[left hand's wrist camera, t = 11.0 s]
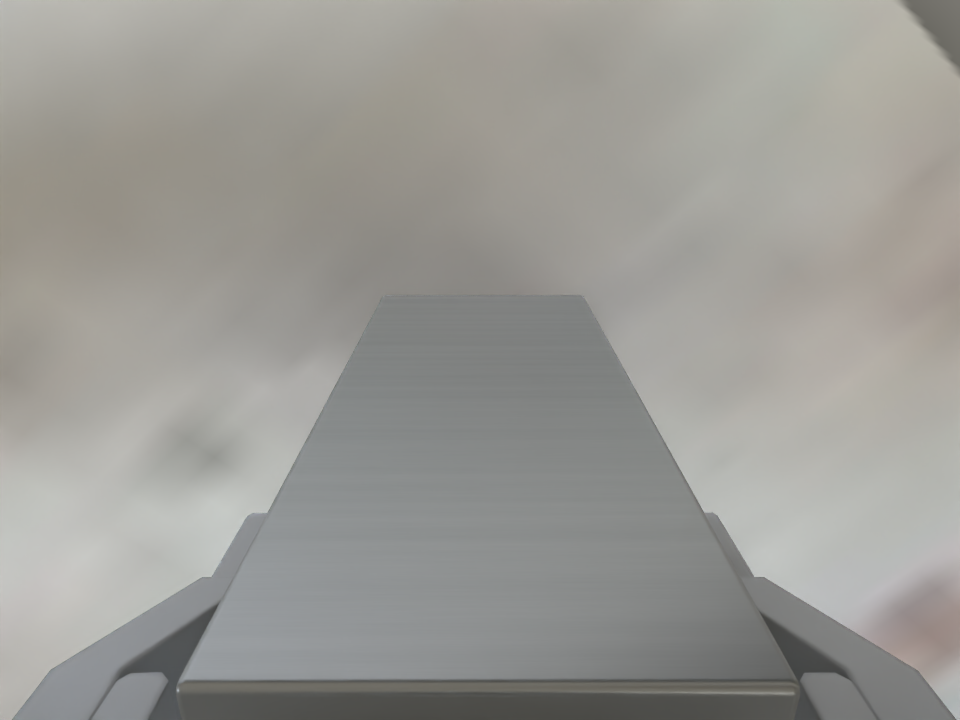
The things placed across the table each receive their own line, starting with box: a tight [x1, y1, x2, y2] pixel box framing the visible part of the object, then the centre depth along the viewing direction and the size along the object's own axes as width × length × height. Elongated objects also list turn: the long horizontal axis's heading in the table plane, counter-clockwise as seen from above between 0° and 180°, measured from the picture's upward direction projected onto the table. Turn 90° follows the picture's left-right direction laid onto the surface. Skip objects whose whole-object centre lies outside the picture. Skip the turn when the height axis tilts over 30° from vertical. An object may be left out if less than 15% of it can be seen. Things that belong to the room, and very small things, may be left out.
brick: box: [176, 295, 800, 720], centre depth 11 cm, size 5×6×11 cm
